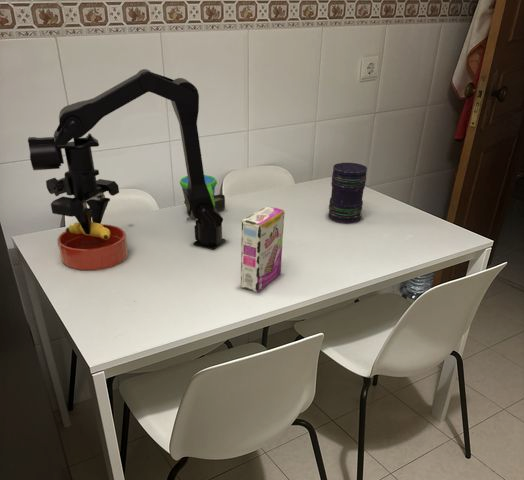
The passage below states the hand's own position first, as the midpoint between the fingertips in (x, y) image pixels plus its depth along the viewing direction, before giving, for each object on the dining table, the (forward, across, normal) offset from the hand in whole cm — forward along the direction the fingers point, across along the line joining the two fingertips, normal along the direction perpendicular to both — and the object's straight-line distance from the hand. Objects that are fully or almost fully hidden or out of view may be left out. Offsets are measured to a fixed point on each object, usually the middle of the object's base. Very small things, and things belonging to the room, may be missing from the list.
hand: (92, 231), depth 129 cm
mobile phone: (+4, -37, +12) cm, 39 cm away
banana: (+1, 0, 0) cm, 1 cm away
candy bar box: (+7, -4, +43) cm, 44 cm away
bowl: (+7, 0, 0) cm, 7 cm away
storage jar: (+7, -52, +52) cm, 74 cm away
